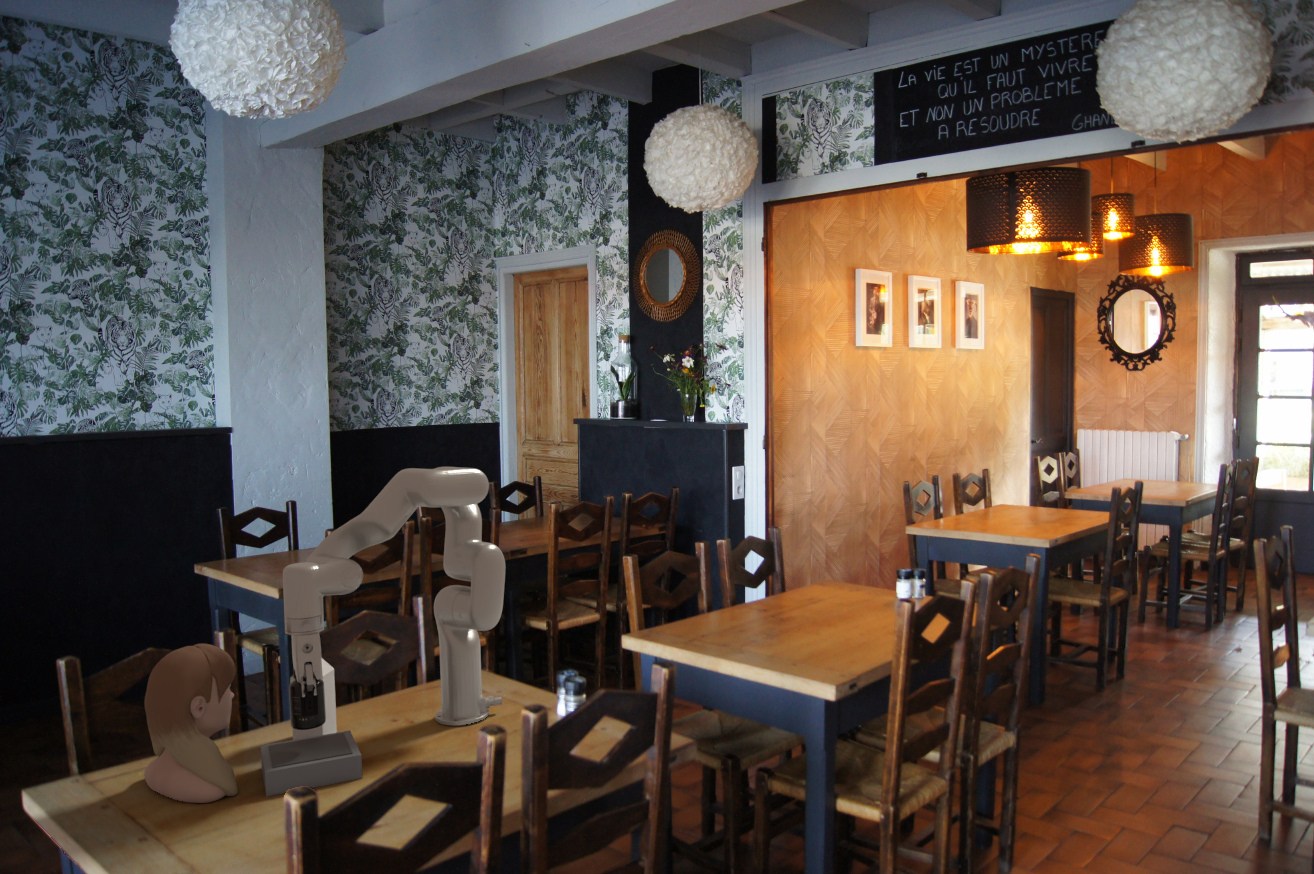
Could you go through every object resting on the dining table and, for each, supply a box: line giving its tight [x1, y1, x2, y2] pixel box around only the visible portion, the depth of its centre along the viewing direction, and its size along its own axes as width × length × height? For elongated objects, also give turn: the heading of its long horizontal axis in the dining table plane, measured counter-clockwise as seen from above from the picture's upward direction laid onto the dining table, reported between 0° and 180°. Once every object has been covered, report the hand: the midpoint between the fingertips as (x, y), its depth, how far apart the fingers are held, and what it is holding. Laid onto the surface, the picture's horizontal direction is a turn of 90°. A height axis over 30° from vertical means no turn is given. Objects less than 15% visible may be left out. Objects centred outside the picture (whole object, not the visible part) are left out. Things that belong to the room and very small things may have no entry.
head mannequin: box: [143, 643, 239, 804], centre depth 191 cm, size 25×17×28 cm
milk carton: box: [289, 658, 338, 740], centre depth 216 cm, size 7×7×19 cm
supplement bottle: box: [288, 665, 326, 730], centre depth 196 cm, size 7×7×12 cm
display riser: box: [260, 730, 363, 797], centre depth 196 cm, size 18×16×5 cm
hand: (307, 709), depth 196 cm, fingers closed on supplement bottle, 6 cm apart
